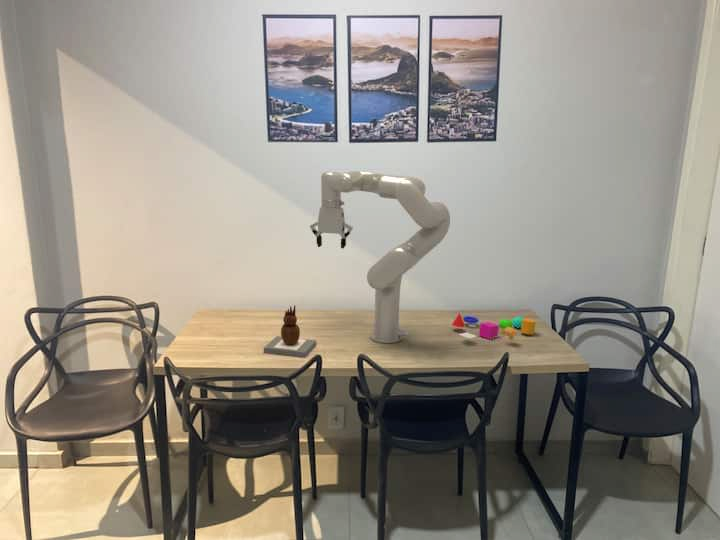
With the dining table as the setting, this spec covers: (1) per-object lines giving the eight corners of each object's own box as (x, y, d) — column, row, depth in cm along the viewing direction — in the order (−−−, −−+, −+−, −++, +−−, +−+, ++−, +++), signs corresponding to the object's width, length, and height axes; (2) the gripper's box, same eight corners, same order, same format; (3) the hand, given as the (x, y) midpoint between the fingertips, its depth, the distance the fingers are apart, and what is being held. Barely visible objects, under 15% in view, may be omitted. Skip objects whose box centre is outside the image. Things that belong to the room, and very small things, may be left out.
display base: (316, 345, 198) (316, 339, 198) (305, 357, 187) (305, 352, 186) (277, 340, 202) (276, 335, 202) (263, 352, 191) (263, 347, 190)
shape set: (546, 339, 212) (549, 322, 210) (493, 353, 190) (496, 334, 188) (487, 319, 234) (489, 304, 232) (434, 330, 212) (436, 313, 210)
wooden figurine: (302, 342, 195) (301, 304, 192) (294, 347, 190) (293, 308, 186) (287, 339, 198) (286, 301, 194) (278, 344, 193) (277, 305, 189)
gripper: (355, 203, 205) (354, 246, 209) (313, 202, 209) (313, 244, 213) (349, 206, 198) (349, 250, 202) (306, 204, 202) (307, 247, 206)
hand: (331, 247), depth 208 cm, fingers open, 9 cm apart
